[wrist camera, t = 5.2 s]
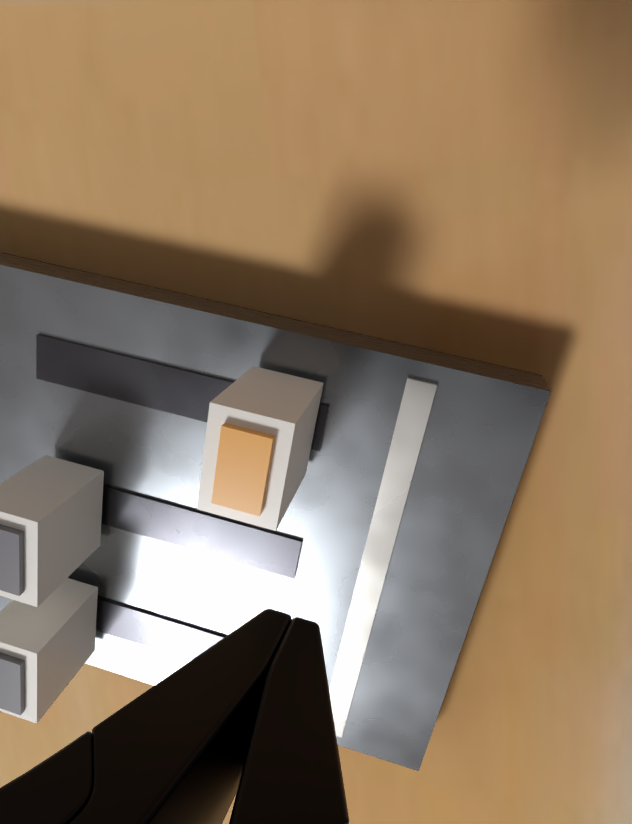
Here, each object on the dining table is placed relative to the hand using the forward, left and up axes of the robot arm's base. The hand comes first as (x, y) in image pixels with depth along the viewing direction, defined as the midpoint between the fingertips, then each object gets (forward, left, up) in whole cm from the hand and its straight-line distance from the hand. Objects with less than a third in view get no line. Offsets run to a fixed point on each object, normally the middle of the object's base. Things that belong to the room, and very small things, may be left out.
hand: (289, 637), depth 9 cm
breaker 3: (+2, 0, -8) cm, 8 cm away
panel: (+5, +4, -10) cm, 11 cm away
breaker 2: (+9, +9, -8) cm, 15 cm away
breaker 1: (+9, +4, -8) cm, 12 cm away
